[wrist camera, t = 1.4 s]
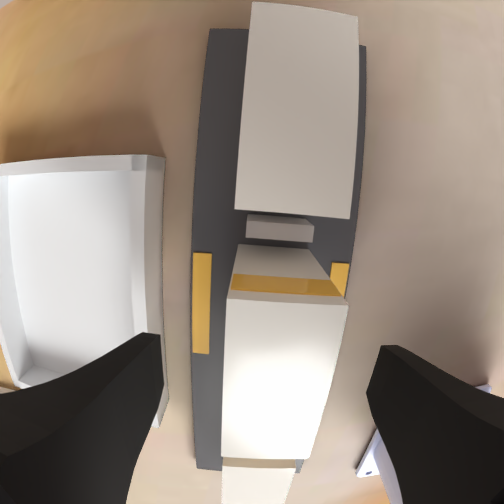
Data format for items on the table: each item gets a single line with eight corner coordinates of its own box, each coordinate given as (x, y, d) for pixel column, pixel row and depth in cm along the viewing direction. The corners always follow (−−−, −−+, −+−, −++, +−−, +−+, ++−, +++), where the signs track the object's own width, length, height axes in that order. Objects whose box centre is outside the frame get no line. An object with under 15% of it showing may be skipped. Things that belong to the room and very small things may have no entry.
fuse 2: (322, 67, 11) (358, 16, 6) (313, 202, 13) (349, 219, 8) (252, 60, 11) (252, 1, 6) (241, 196, 13) (234, 209, 8)
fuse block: (361, 50, 11) (381, 29, 9) (298, 467, 18) (302, 495, 15) (211, 34, 11) (203, 7, 9) (197, 462, 17) (192, 490, 15)
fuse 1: (286, 396, 15) (296, 468, 10) (273, 460, 17) (276, 522, 12) (229, 393, 15) (222, 466, 10) (226, 458, 16) (221, 520, 12)
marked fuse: (308, 248, 13) (349, 303, 7) (291, 367, 15) (308, 459, 9) (238, 242, 13) (226, 296, 7) (231, 364, 15) (221, 457, 9)
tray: (165, 157, 13) (146, 154, 10) (169, 399, 16) (159, 428, 14) (7, 165, 13) (-22, 167, 10) (33, 366, 16) (14, 385, 13)
